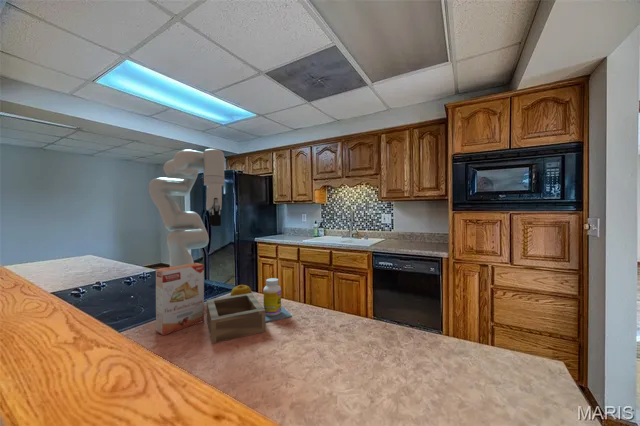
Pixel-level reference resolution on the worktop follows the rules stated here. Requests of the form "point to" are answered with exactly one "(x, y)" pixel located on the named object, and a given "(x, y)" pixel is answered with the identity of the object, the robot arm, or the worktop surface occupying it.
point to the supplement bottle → (272, 297)
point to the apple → (240, 290)
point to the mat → (282, 315)
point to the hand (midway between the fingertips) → (214, 225)
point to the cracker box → (179, 297)
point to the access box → (235, 317)
